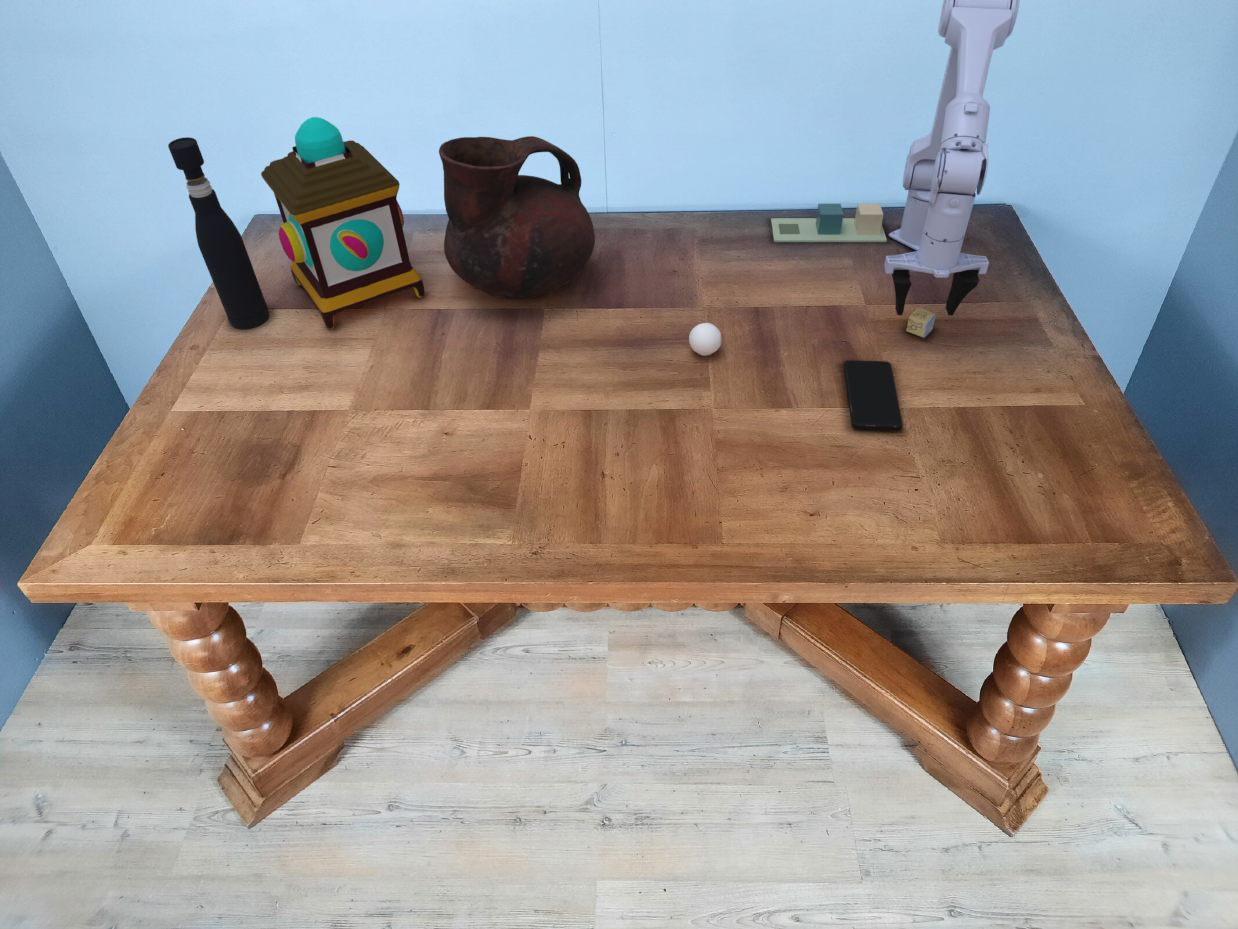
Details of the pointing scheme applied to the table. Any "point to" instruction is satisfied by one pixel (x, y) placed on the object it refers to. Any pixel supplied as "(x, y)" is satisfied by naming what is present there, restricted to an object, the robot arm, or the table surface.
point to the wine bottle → (220, 243)
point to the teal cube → (829, 219)
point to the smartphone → (872, 395)
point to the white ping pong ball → (705, 339)
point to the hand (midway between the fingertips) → (923, 311)
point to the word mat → (808, 232)
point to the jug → (512, 217)
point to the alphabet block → (921, 322)
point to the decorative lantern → (340, 221)
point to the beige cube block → (868, 218)
